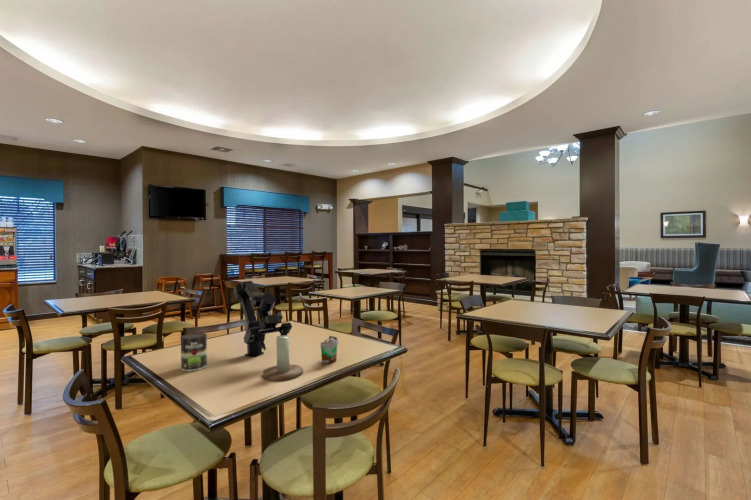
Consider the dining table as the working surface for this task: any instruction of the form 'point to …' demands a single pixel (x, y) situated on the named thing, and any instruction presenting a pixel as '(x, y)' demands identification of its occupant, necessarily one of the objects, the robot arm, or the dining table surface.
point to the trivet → (291, 374)
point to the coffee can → (193, 351)
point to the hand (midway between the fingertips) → (275, 347)
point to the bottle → (282, 354)
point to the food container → (329, 350)
